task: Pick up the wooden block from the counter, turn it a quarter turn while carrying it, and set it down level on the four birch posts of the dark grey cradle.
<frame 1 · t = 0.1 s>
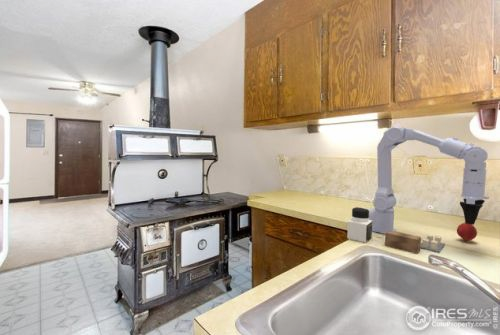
hand: (471, 221, 86), 10 cm above the table, tool pointing down, fingers open, 7 cm apart
cradle: (431, 246, 90), on the table
onion: (466, 241, 96), on the table
medicine bottle: (359, 238, 98), on the table
wooden block: (402, 248, 89), on the table
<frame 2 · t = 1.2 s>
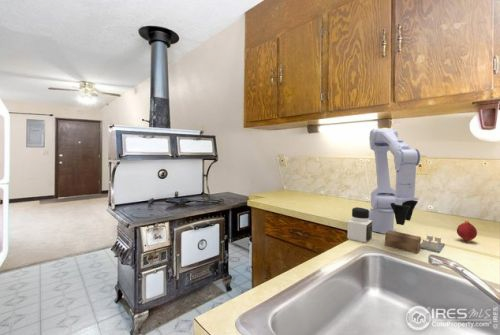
hand: (403, 222, 88), 9 cm above the table, tool pointing down, fingers open, 7 cm apart
nothing on the table moved.
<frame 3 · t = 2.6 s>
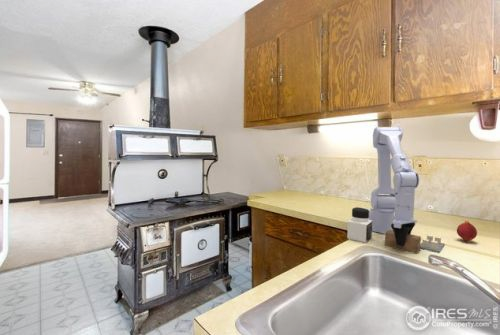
hand: (402, 243, 89), 2 cm above the table, tool pointing down, fingers closed on wooden block, 4 cm apart
wooden block: (402, 248, 89), on the table, touching gripper
everything else where it was.
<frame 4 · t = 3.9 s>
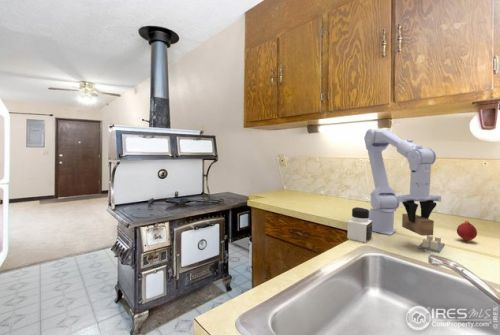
hand: (417, 221, 89), 9 cm above the table, tool pointing down, fingers closed on wooden block, 4 cm apart
wooden block: (416, 230, 89), point 6 cm above the table, touching gripper
everything else where it was.
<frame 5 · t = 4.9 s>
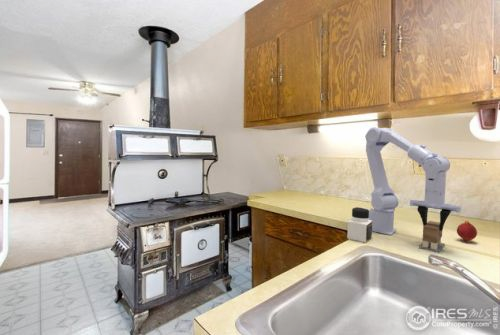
hand: (432, 228, 90), 7 cm above the table, tool pointing down, fingers closed on wooden block, 4 cm apart
wooden block: (432, 238, 90), point 3 cm above the table, touching cradle, gripper
everything else where it was.
when the fingers open (6 cm above the table, at t = 5.5 s): wooden block stays where it is, resting on cradle.
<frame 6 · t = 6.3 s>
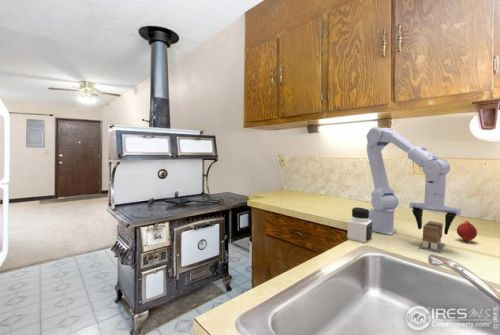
hand: (432, 231, 90), 6 cm above the table, tool pointing down, fingers open, 7 cm apart
wooden block: (432, 238, 90), point 3 cm above the table, touching cradle
everything else where it was.
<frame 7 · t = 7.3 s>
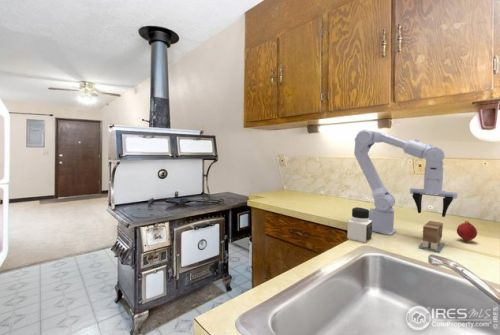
hand: (431, 214, 96), 10 cm above the table, tool pointing down, fingers open, 7 cm apart
nothing on the table moved.
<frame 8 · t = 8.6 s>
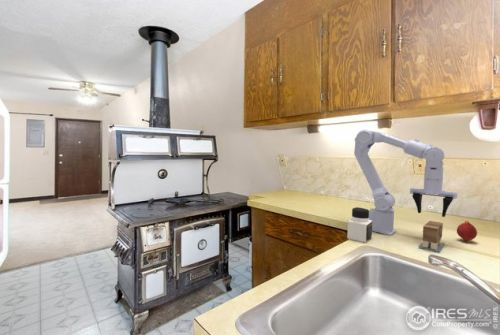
hand: (431, 214, 96), 10 cm above the table, tool pointing down, fingers open, 7 cm apart
nothing on the table moved.
at the end: wooden block 0.2 cm off-centre on the cradle, point 3.0 cm above the cradle's base; wooden block tilted 0°; the gripper is holding nothing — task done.
